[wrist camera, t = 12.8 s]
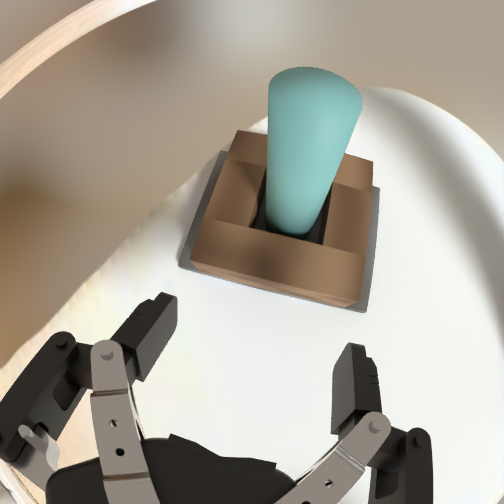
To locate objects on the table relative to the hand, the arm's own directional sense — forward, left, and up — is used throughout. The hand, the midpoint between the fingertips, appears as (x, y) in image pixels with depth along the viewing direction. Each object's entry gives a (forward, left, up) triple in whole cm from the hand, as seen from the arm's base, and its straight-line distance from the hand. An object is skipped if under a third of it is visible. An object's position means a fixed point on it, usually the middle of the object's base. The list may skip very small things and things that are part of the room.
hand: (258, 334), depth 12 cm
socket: (0, -10, -10) cm, 14 cm away
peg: (0, -10, -9) cm, 13 cm away
